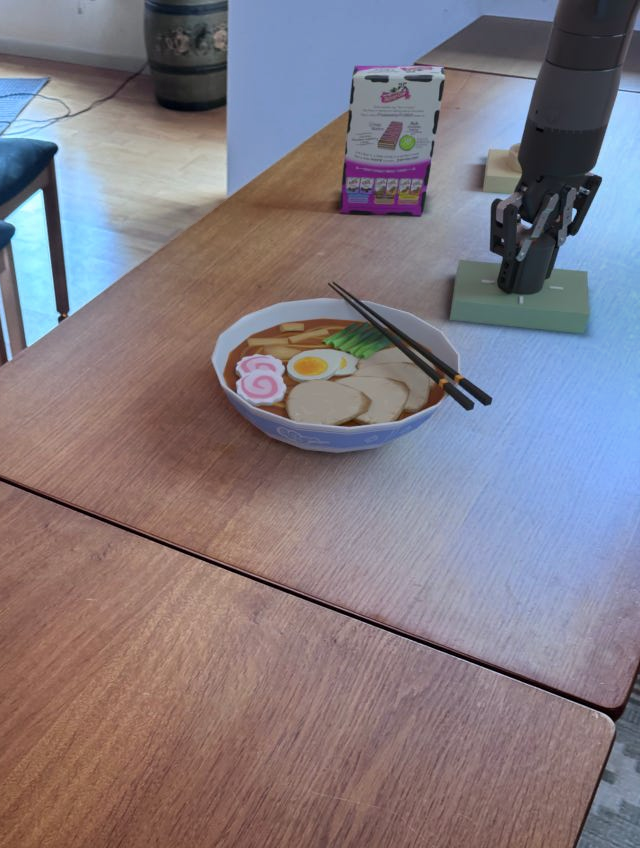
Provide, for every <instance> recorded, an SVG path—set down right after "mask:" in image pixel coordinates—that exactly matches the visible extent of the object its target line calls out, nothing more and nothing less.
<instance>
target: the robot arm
mask: <svg viewBox="0 0 640 848" xmlns="http://www.w3.org/2000/svg"><path fill="white" fill-rule="evenodd" d="M639 13H640V0H558V1H557V5H556V8H555V12H554V15H553V19H552V24H551V28H550V33H549V36H548V40H547V44H546V49H545V52H544V57H543V59H542V64H541V65H540V69H539V71H538V75H537V77H536V80H535V83H534V86H533V90H532V94H531V98H530V104H529V106H528V111H527V115H526V119H525V123H524V128H523V131H522V136H521V140H520V143H521V144H520V148H519V152H518V157H517V158H518V162H519V164H520V166H521V169H522V175H521V178H520V180H519V182H518V184H517V186H516V188H515V190H514V194H510V196H508V197H507V198H505V199H501V198H500V197H497V198H495V199H494V200H493V201H492V202H491V203H490V220H489V221H490V224H489V225H490V226H489V227H490V228H489V251H490V252H491V253H493V254H496V255H498V256H500V257H502V260H501V263H500V264H501V267H500V272H499V276H498V279H497V285H498V288H499V289H501V290H503V291H505V292H507V293H509V294H510V293H513V292H515V291H517V288H518V285H519V281H520V277H521V273H522V270H523V266H524V262H525V260H524V258H525V256H526V253H527V251H528V249H529V247H530V245H531V243H532V241H533V240H534V239H537V238H538V237H539V235H540V233H541V232H542V233H545V234H548V235H550V236H552V237H553V238H554V239H555V242H556V243H555V246H554V250H553V253H552V257H551V260H550V264H549V267H548V271H547V274H546V277H545V280H546V279H549V278H550V276H551V272H552V270H553V268H555V264H556V261H557V258H558V254H559V251H560V248H561V247H562V246H563V245H564V244H565V243H566V241H567V238H568V237H569V236H571V237H575V236H576V235H578V234H579V231H580V230H581V228H582V225H583V222H584V221H585V219H586V216H587V215H588V213H589V210H590V208H591V206H592V204H593V201H594V199H595V198H596V196H597V193H598V191H599V189H600V187H601V184H602V182H603V177H602V176H601V175H598V174H595V173H592V172H591V171H592V170H593V169H594V168H596V165H597V163H598V160H599V156H600V153H601V149H602V146H603V143H604V140H605V136H606V133H607V130H608V126H609V123H610V119H611V116H612V114H613V113H612V112H613V109H614V107H615V102H616V100H617V97H618V92H619V89H620V84H621V83H620V82H621V77H622V72H623V67H624V64H625V60H626V56H627V54H628V50H629V47H630V44H631V40H632V37H633V34H634V30H635V27H636V24H637V20H638V16H639ZM573 209H574V210H576V212H575V215H574V217H573ZM522 221H523V222H526V223H528V224H530V225H531V227H529V226H528V225H527V226H526V225H524V224H523V223H522ZM518 234H520V235H522V240H521V242H520V244H519V247H518V246H516V238H517V236H518Z"/></svg>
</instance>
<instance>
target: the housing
mask: <svg viewBox="0 0 640 848" xmlns="http://www.w3.org/2000/svg"><path fill="white" fill-rule="evenodd" d="M520 144H521V142H517V143H515V144H514V145H511V146H510V147H509V149H497V148H495V149H494V148H489V149H488V153H487V156H486V157H487V158H486V162H485V170H484V178H483V184H482V185H483V186H482V193H494V194H506V195H513V194H514V190H515V188H516V186H517V184H518V182H519V180H520V178H521V175H522V169H521V166H520V164H519V162H518V158H517V157H518V152H519V148H520Z"/></svg>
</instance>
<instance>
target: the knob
mask: <svg viewBox="0 0 640 848" xmlns="http://www.w3.org/2000/svg"><path fill="white" fill-rule="evenodd" d="M521 240H522V235H520V234H518V236H517V238H516V246H518V247H519V244H520V242H521ZM555 243H556V242H555V239H554V238H553V237H552V236H550V235H548V234H545V233H542V232H541V233H540V235H539V237H538V238H537V239H534V240H533V241H532V243H531V245H530V247H529V249H528V251H527V253H526V256H525V258H524V260H525V262H524V266H523V270H522V273H521V277H520V281H519V285H518V288H517V291H515V292H513V293H517V294H534V293H537V292H539V291H541V290H542V288H543V284H544V281H545V277H546V274H547V271H548V267H549V264H550V260H551V257H552V253H553V250H554V246H555Z"/></svg>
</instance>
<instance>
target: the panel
mask: <svg viewBox="0 0 640 848" xmlns="http://www.w3.org/2000/svg"><path fill="white" fill-rule="evenodd" d="M500 267H501V263H500V262H499V263H498V262H487V261H476V260H466V259H459V260H458V264H457V269H456V274H455V279H454V284H453V290H452V291H453V293H452V299H451V306H450V313H449V320H450V321H457V322H467V323H468V322H469V323H477V324H487V325H496V326H506V327H514V328H515V327H516V328H523V329H524V328H525V329H535V330H544V331H545V330H546V331H552V332H561V333H562V332H564V333H573V334H582V335H583V334H584V333H585V330H586V327H587V324H588V321H589V318H590V314H591V311H590V310H591V309H590V295H589V293H590V292H589V279H588V278H589V277H588V271H587V270H576V269H566V268H565V269H564V268H555V267H554V268H553V270H552V272H551V276H550V278H549V279H546V280H545V281H544V284H543V288H542V290H541V291H539V292H537V293H534V294H517V293H510V294H509V293H507V292H505V291H503V290H501V289H499V288H498V285H497V279H498V276H499V272H500Z"/></svg>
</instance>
